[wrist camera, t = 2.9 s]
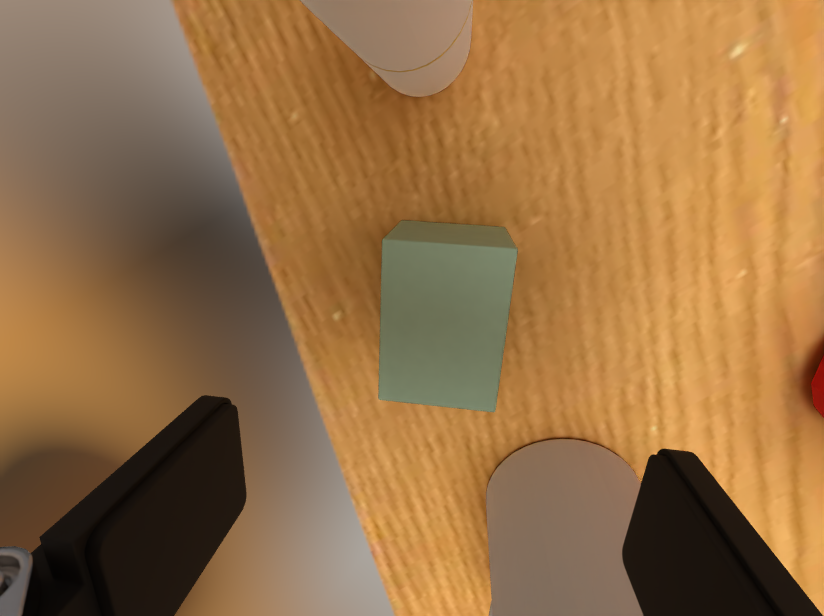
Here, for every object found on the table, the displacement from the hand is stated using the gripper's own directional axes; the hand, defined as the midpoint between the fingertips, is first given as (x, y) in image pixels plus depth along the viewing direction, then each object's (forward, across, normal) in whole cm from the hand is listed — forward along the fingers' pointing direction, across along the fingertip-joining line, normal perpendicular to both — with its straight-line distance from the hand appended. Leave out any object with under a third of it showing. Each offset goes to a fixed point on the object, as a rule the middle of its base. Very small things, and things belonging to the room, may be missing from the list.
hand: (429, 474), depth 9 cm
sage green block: (+12, 0, 0) cm, 13 cm away
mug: (+13, -7, +12) cm, 19 cm away
